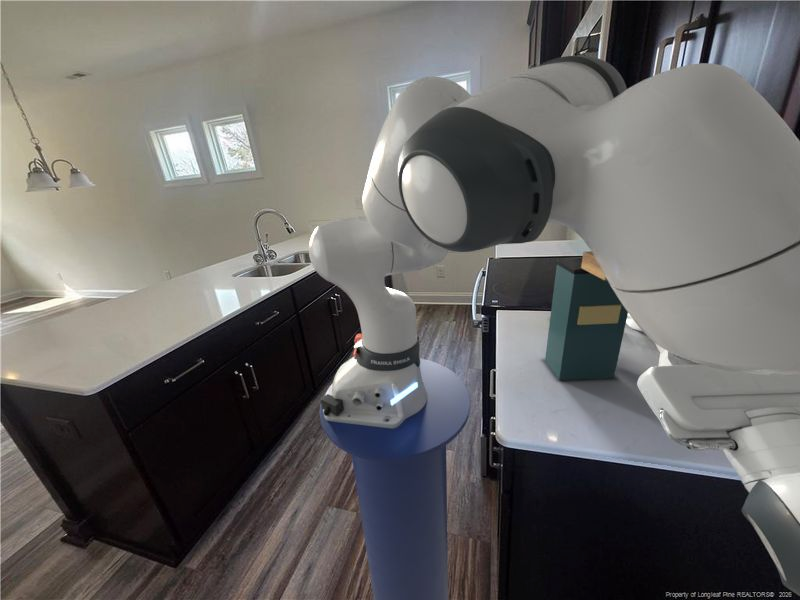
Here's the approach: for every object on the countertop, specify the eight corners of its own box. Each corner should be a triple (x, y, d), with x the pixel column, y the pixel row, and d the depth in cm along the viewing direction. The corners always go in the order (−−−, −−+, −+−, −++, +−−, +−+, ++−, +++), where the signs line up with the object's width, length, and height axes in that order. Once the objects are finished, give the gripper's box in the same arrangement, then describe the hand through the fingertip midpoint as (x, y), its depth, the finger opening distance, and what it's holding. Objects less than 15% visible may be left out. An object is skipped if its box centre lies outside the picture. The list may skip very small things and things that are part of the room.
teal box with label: (558, 381, 71) (574, 269, 61) (543, 360, 79) (555, 258, 69) (616, 379, 70) (642, 266, 61) (594, 358, 78) (614, 255, 69)
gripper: (659, 457, 36) (609, 351, 45) (849, 453, 35) (760, 345, 44) (696, 442, 31) (631, 327, 40) (917, 437, 30) (802, 319, 39)
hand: (700, 336), depth 42 cm, fingers open, 8 cm apart
